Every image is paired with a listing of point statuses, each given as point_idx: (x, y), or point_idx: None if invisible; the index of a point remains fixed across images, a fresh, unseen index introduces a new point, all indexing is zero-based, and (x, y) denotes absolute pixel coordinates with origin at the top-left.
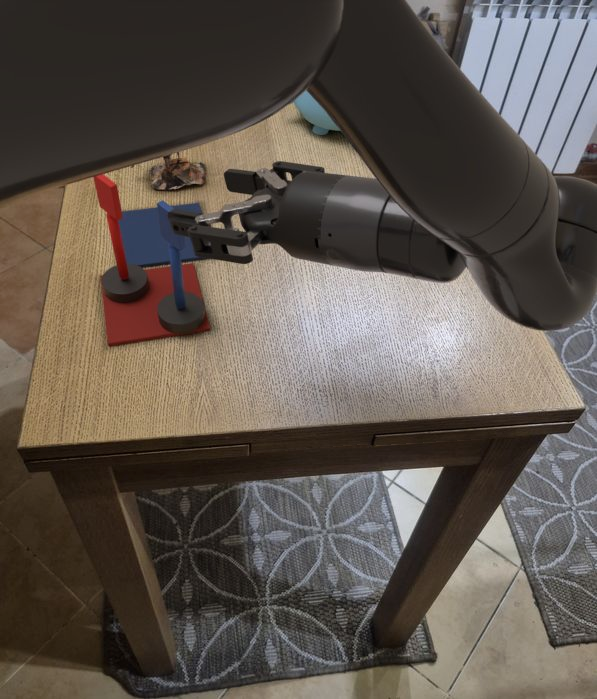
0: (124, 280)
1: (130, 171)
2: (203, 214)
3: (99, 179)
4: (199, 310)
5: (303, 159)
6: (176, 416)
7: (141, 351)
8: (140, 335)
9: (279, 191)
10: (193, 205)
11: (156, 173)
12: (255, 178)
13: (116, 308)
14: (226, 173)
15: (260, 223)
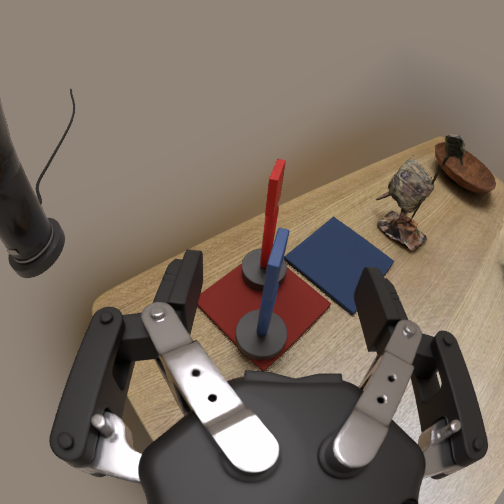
0: (262, 267)
1: (377, 202)
2: (174, 311)
3: (274, 166)
4: (269, 350)
5: (488, 297)
6: (149, 397)
7: (203, 328)
8: (216, 317)
9: (331, 458)
10: (388, 259)
11: (390, 217)
12: (387, 329)
13: (235, 280)
14: (366, 271)
15: (147, 480)
